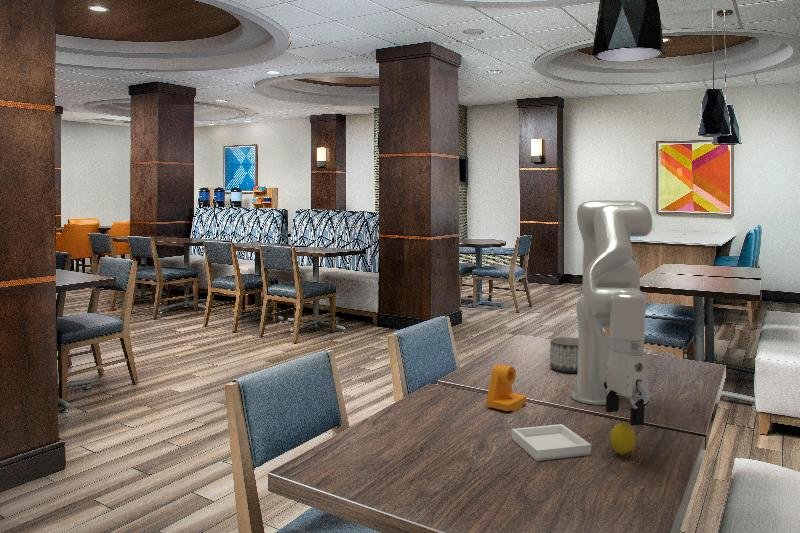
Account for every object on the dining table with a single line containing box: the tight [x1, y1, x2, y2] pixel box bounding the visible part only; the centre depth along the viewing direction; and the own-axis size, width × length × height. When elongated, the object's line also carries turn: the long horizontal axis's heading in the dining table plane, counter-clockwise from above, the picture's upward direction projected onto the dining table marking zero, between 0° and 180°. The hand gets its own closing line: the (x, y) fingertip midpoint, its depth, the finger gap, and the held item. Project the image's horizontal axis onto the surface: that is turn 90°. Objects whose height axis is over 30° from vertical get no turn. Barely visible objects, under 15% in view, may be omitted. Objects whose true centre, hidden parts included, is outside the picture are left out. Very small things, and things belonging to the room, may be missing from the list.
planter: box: [549, 336, 579, 373], centre depth 222 cm, size 13×13×10 cm
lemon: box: [609, 421, 636, 456], centre depth 149 cm, size 6×6×8 cm
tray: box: [511, 423, 592, 462], centre depth 154 cm, size 14×14×2 cm
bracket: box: [486, 363, 527, 413], centre depth 183 cm, size 11×7×12 cm, turn 139°
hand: (624, 418), depth 148 cm, fingers open, 9 cm apart
